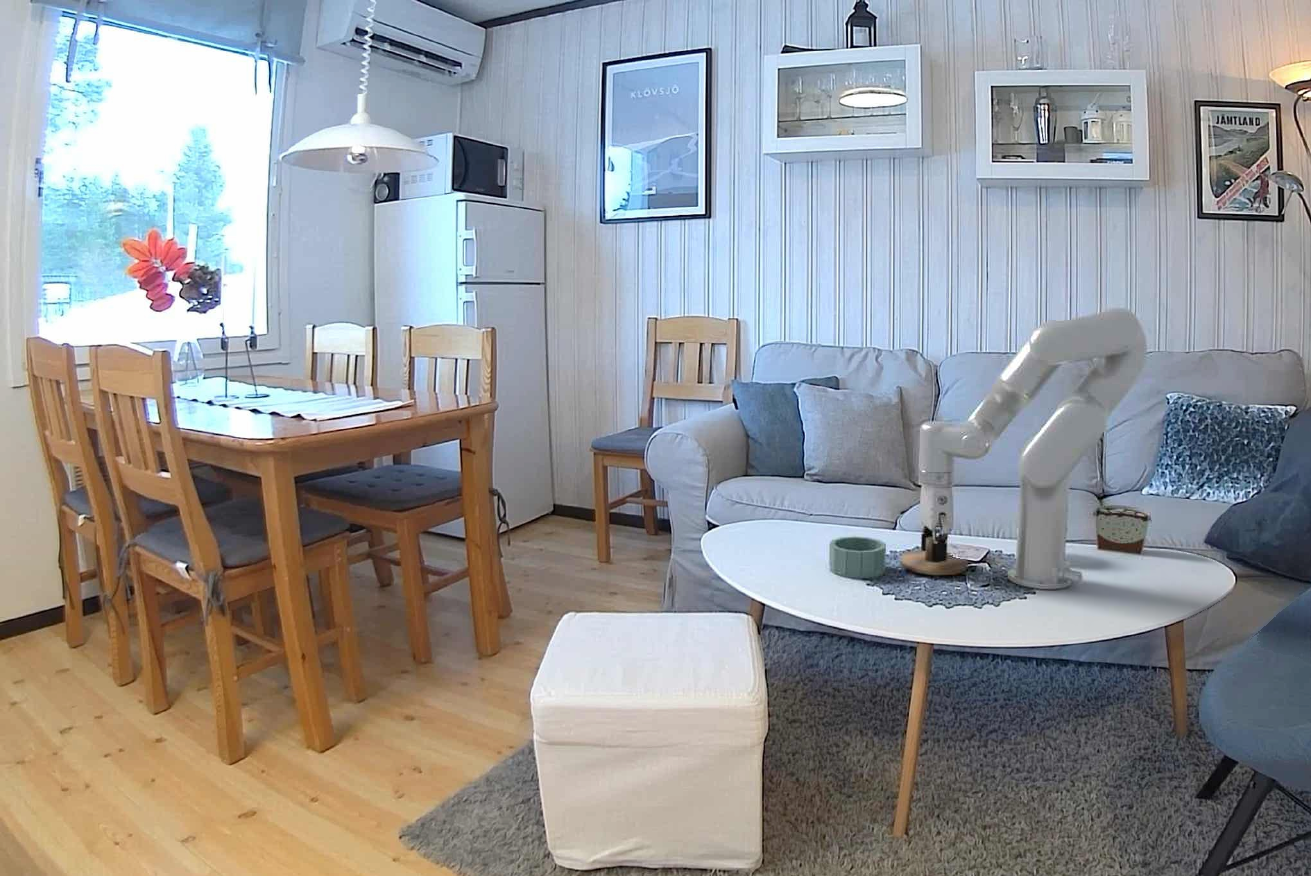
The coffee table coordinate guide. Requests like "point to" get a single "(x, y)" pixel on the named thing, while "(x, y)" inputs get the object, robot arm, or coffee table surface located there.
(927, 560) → the lid
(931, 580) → the coffee table surface
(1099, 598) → the coffee table surface
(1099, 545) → the food container
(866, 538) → the bowl
